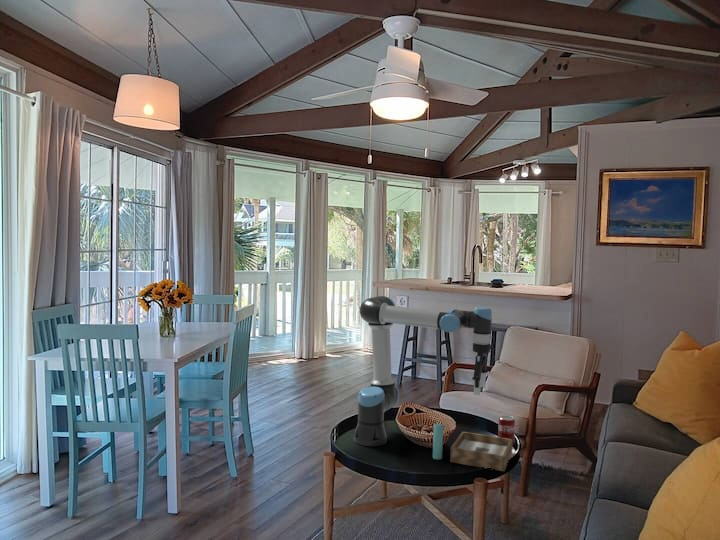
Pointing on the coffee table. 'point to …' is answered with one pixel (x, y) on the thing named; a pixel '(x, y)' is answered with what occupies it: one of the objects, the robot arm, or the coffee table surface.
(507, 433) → the soda can
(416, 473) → the coffee table surface
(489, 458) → the wooden box with hole
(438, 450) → the teal peg
